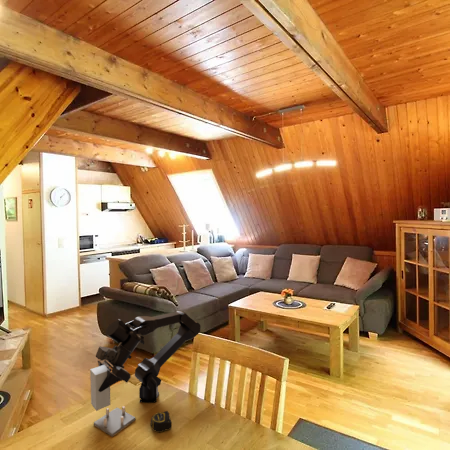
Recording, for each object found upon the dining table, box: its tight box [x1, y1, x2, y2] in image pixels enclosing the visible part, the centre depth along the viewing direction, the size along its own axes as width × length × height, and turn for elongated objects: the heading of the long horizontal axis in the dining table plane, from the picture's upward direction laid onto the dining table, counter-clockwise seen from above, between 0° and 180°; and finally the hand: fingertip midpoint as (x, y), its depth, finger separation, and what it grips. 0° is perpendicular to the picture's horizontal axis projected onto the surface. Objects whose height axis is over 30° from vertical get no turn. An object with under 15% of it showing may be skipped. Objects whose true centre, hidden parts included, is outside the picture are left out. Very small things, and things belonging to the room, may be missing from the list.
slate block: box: [89, 365, 111, 412], centre depth 115 cm, size 5×5×13 cm
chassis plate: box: [93, 405, 136, 437], centre depth 114 cm, size 10×10×4 cm
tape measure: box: [150, 410, 173, 433], centre depth 113 cm, size 7×7×4 cm
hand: (96, 388), depth 114 cm, fingers closed on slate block, 5 cm apart
